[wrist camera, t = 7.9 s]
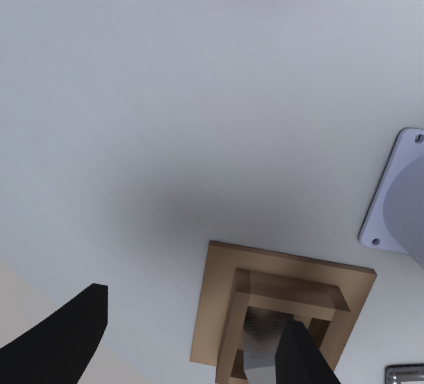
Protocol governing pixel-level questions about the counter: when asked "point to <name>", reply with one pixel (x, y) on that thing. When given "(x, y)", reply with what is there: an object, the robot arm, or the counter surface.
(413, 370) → the hook
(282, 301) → the well
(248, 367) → the grey tall block
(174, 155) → the counter surface
